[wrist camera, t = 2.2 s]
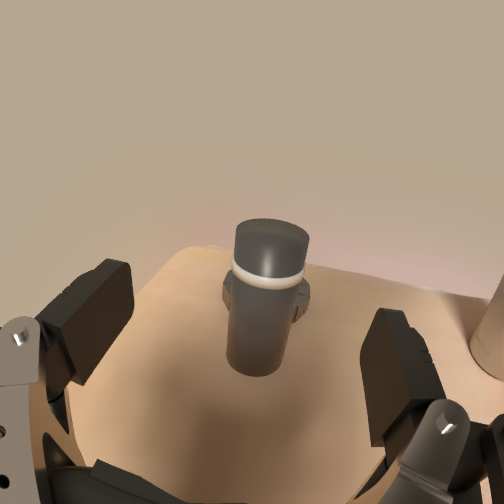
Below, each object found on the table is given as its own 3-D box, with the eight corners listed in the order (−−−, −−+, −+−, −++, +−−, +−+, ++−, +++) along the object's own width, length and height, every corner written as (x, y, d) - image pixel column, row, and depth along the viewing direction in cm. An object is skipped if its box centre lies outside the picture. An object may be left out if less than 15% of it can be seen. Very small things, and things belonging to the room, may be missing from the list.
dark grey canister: (284, 340, 28) (309, 224, 22) (280, 381, 23) (312, 255, 18) (231, 331, 28) (242, 214, 23) (219, 371, 24) (227, 242, 18)
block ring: (305, 283, 38) (308, 269, 37) (306, 332, 29) (310, 317, 28) (232, 271, 38) (233, 257, 37) (214, 317, 30) (215, 301, 29)
